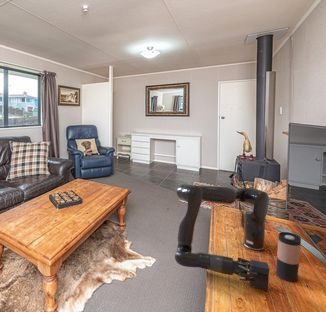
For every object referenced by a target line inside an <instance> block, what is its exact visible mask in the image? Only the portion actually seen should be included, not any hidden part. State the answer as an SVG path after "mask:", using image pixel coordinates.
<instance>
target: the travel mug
mask: <svg viewBox="0 0 326 312" xmlns="http://www.w3.org/2000/svg"><path fill="white" fill-rule="evenodd" d="M277 239H278V240H277V250H276V251H277V253H276V275H277V277H278V278H280V279H281V280H284V281H286V282H291V283H292V282H293V283H295V282H296V281H297V280H298V274H299V269H300V268H299V267H300V259H301V258H300V257H301V244H302V237H301V236H300V235H299V234H296V233H293V232H290V231H289V232H288V231H281V232H279V233H278V238H277Z"/></svg>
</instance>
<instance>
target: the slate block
mask: <svg viewBox="0 0 326 312" xmlns="http://www.w3.org/2000/svg"><path fill="white" fill-rule="evenodd" d="M249 261H250V263H249V264H250V270H251V271H252V272H256V273H260V274H265V275H268V281H266V280H261V279H256V282H253V281H249V285H250V287H252V288H256V289H261V290H265V291H268V290H269V280H270V279H269V278H270V267H269V265H268V262H264V261H261V260H255V259H249ZM250 278H251V277H250ZM251 279H252V278H251Z"/></svg>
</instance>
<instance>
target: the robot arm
mask: <svg viewBox="0 0 326 312" xmlns="http://www.w3.org/2000/svg"><path fill="white" fill-rule="evenodd" d="M176 195H177V197H178V199H180V200H181V201H183V202H185V203H187V209H186V213H185V215H184V216H183V218H182V220H181V221H180V223H179V225H178V232H177V247H176V251H175V253H174V254H175V255H174V260H175V262H176V263H177V264H178V265H180V266H182V267H185V268H200V269H203V270H207V271H208V270H209V271H212V272H214V273H220V274H223V275H228V276H234V275H237V276H238V277H239V280H240V281H243V282H250V281H253V282H256V279H261V280H266V281H268V282H269V279H268V275H265V274H260V273H256V272H252V271H251V270H250V260H248V259H246V258H245V259H244V258H242V257H237V258H236V259H237V260H234V258H233V257H230V256H224V255H220V254H214V253H207V252H202V251H199V252H198V251H197V252H195V253H194V252H192V251H193V241H194V236H195V235H194V233H195V226H196V223H197V219H198V217H199V216H198V215H199V213H200V209H201V206H202V204H203V203H202V202H203V201H204V202H208V203H212V204H219V205H232V204H234V203H235V202H240V203H245V204H247V205H250V206H253V208H252V209H247V210H245V211H244V212H243V211H242V209H241V208H240V207H236V209H237V210H239V211H240V212H241V220H240V223H241V226H242V229H243V231H244V232H243V246H244V247H245V248H247V249H249V250H251V251H258V252H259V251H263V250H264V249H265V236H266V235H265V233H266V232H265V231H266V217H267V215H268V211H269V203H270V197H269V193H267V192H266V191H265V190H262V189H261V190H260V189H258V188H254V187H240V188H237V187H233V186H223V185H197V184H192V183H189V182H187V183H182V184H180V185H179V186H177V189H176ZM243 221H244V222H243ZM250 277H251V278H252V279H251V278H250Z"/></svg>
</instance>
